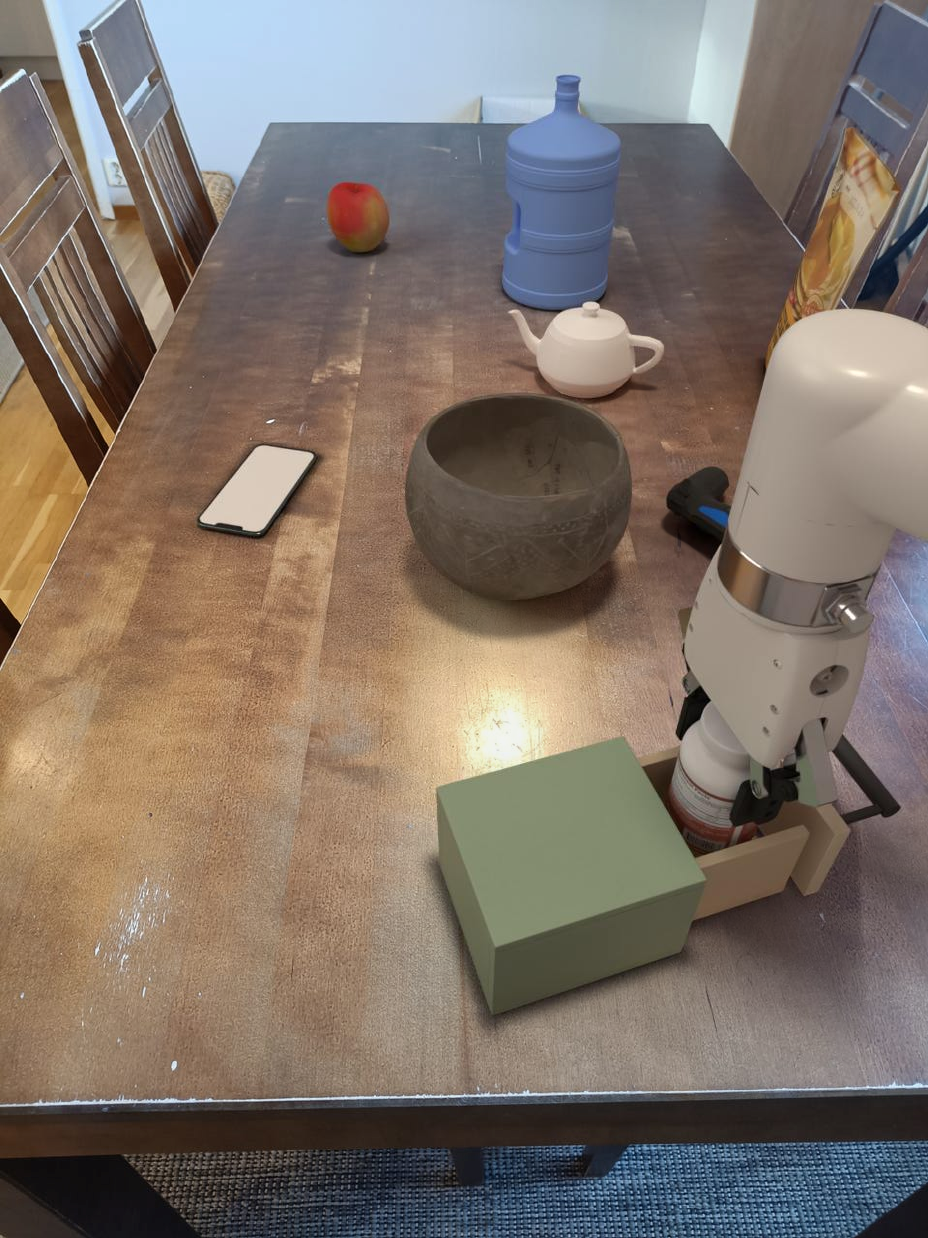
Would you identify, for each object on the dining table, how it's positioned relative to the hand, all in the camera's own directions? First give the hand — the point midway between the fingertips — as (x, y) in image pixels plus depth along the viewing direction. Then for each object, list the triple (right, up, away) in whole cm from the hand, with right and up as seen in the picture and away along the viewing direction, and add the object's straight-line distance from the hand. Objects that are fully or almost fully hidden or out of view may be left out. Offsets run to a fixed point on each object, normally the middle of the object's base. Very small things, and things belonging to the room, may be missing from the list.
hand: (724, 772), depth 58 cm
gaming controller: (+11, +18, +35) cm, 40 cm away
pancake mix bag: (+25, +40, +57) cm, 73 cm away
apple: (-34, +70, +88) cm, 118 cm away
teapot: (-2, +41, +58) cm, 71 cm away
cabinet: (-10, -10, +5) cm, 16 cm away
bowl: (-12, +15, +32) cm, 37 cm away
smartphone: (-39, +24, +41) cm, 61 cm away
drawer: (+3, -6, +8) cm, 11 cm away
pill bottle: (0, -4, +4) cm, 6 cm away
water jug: (-3, +59, +77) cm, 98 cm away
